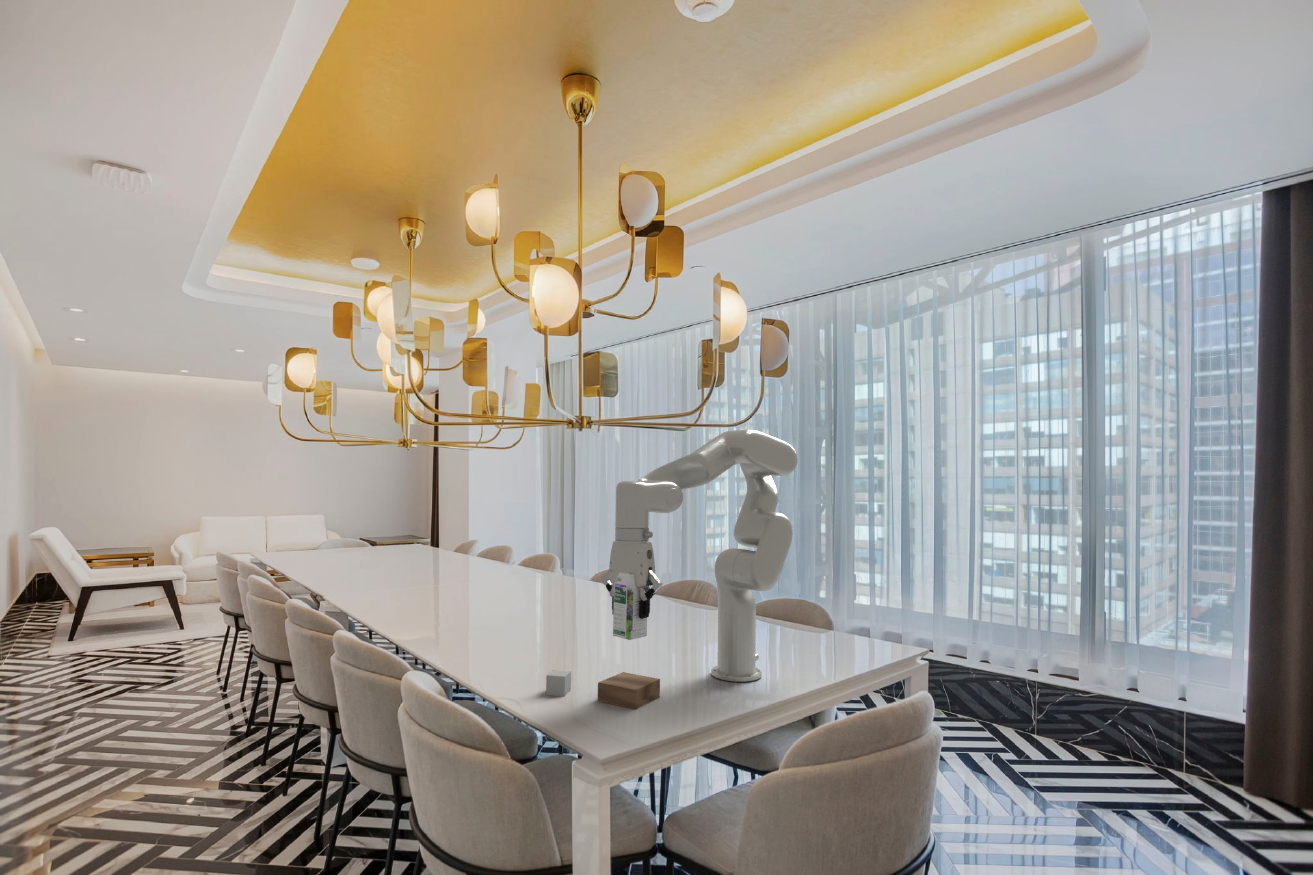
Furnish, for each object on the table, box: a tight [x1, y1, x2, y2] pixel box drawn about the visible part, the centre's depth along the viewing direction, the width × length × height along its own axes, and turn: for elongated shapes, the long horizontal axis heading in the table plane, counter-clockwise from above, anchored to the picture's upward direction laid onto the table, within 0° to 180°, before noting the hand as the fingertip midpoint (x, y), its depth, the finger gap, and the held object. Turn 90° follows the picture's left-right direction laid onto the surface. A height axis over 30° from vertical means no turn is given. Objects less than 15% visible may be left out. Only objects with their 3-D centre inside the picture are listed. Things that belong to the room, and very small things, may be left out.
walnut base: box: [597, 671, 661, 710], centre depth 154 cm, size 10×10×4 cm
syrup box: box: [612, 573, 648, 641], centre depth 155 cm, size 6×6×14 cm
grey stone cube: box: [545, 669, 572, 697], centre depth 158 cm, size 4×4×4 cm
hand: (630, 615), depth 155 cm, fingers closed on syrup box, 6 cm apart
